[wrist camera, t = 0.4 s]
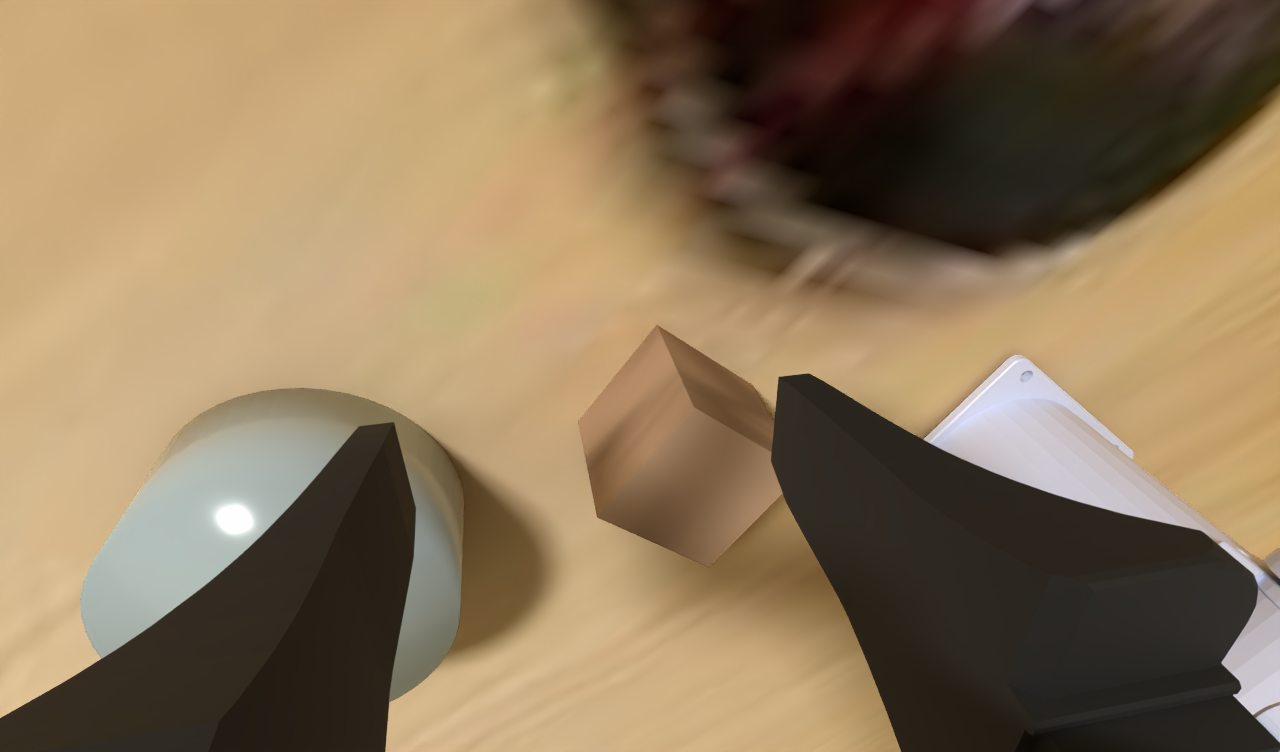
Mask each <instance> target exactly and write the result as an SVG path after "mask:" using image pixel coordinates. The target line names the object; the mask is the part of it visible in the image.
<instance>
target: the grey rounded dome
mask: <svg viewBox="0 0 1280 752" xmlns="http://www.w3.org/2000/svg"><path fill="white" fill-rule="evenodd" d="M390 422H394V424H395V428H396V432H397V436H398V439H399V443H400V447H401V451H402V455H403V459H404V463H405V467H406V471H407V475H408V479H409V483H410V487H411V490H412V494H413V498H414V502H415V506H416V523H415V545H414V559H413V565H412V571H411V576H410V582H409V587H408V593H407V598H406V603H405V609H404V614H403V619H402V625H401V630H400V635H399V640H398V646H397V651H396V656H395V662H394V667H393V674H392V681H391V688H390V696H389V702H391V701H393V700H395V699H397V698H399V697H400V696H402V695H403V694H405V693H407V692H408V691H410V690H412V689H413V688H414V687H416V686H417V685H418V684H420V683H421V682H422V681H423V680H425V679H426V678H427V677H428V676H429V675H430V674H431V673H432V672H433V671H434V670H435V669H436V668H437V667H438V666H439V664H440V663H441V662H442V660H443V659H444V658H445V656H446V655H447V654H448V652H449V650H450V648H451V646H452V644H453V642H454V640H455V636H456V633H457V630H458V627H459V618H460V603H461V577H462V552H463V526H464V496H463V490H462V486H461V482H460V478H459V476H458V474H457V471H456V469H455V467H454V465H453V463H452V461H451V460H450V458H449V457H448V455H447V454H446V452H445V451H444V450H443V449H442V447H441V446H440V445H439V444H438V443H437V442H436V440H435V439H434V438H433V437H431V436H430V435H429V434H428V433H427V432H426V431H425V430H423V429H422V428H421V427H420V426H418V425H417V424H415V423H414V422H413V421H411V420H410V419H408V418H407V417H405V416H403V415H402V414H400V413H398V412H396V411H394V410H392V409H390V408H388V407H386V406H383V405H381V404H378V403H376V402H373V401H371V400H368V399H365V398H361V397H358V396H354V395H350V394H347V393H341V392H335V391H329V390H321V389H307V388H294V389H276V390H269V391H262V392H256V393H252V394H248V395H244V396H240V397H237V398H234V399H231V400H229V401H226V402H224V403H221V404H219V405H216V406H215V407H213V408H211V409H209V410H207V411H205V412H203V413H202V414H200V415H199V416H197V417H196V418H194V419H193V420H192V421H190V422H189V423H188V424H186V425H185V426H184V427H183V428H182V429H181V430H180V431H179V432H178V433H177V434H176V435H175V436H174V437H173V438H172V440H171V441H170V443H169V444H168V446H167V447H166V448H165V450H164V451H163V453H162V454H161V456H160V458H159V459H158V461H157V462H156V464H155V465H154V467H153V469H152V470H151V472H150V473H149V475H148V476H147V478H146V480H145V481H144V483H143V484H142V486H141V487H140V489H139V491H138V492H137V494H136V495H135V497H134V498H133V500H132V502H131V503H130V505H129V506H128V508H127V509H126V511H125V512H124V514H123V516H122V517H121V519H120V520H119V522H118V523H117V525H116V527H115V528H114V530H113V531H112V533H111V534H110V536H109V538H108V539H107V541H106V542H105V544H104V545H103V547H102V549H101V550H100V552H99V553H98V555H97V556H96V558H95V560H94V561H93V563H92V564H91V566H90V568H89V571H88V573H87V575H86V578H85V580H84V582H83V588H82V593H81V599H80V600H81V617H82V621H83V624H84V628H85V632H86V634H87V636H88V638H89V640H90V642H91V644H92V646H93V648H94V649H95V650H96V652H97V653H98V655H99V656H100V657H101V659H102V658H104V657H105V656H107V655H108V654H110V653H112V652H113V651H115V650H116V649H118V648H119V647H121V646H122V645H124V644H125V643H127V642H128V641H130V640H131V639H133V638H134V637H136V636H137V635H139V634H140V633H142V632H143V631H144V630H146V629H147V628H149V627H150V626H152V625H153V624H154V623H156V622H157V621H158V620H160V619H161V618H162V617H164V616H165V615H166V614H168V613H169V612H170V611H172V610H173V609H174V608H176V607H177V606H178V605H180V604H181V603H182V602H184V601H185V600H186V599H188V598H189V597H190V596H192V595H193V594H194V593H196V592H197V591H198V590H200V589H201V588H202V587H203V586H205V585H206V584H207V583H208V582H210V581H211V580H212V579H213V578H214V577H216V576H217V575H218V574H219V573H220V572H221V571H223V570H224V569H225V568H226V567H227V566H228V565H230V564H231V563H232V562H233V561H234V560H235V559H237V558H238V557H239V556H240V555H241V554H242V553H243V552H244V551H245V550H247V549H248V548H249V547H250V546H251V545H252V544H253V543H254V542H255V541H256V540H257V539H258V538H259V537H260V536H261V535H262V534H263V533H264V532H265V531H266V530H267V529H268V528H269V527H270V526H271V525H272V524H273V523H274V522H275V521H276V520H277V519H278V518H279V517H280V516H281V515H282V514H283V513H284V512H285V511H286V510H287V509H288V508H289V507H290V506H291V504H292V503H293V502H294V501H295V500H296V499H297V498H298V497H299V496H300V494H301V493H302V492H303V491H304V490H305V489H306V488H307V487H308V485H309V484H310V483H311V482H312V481H313V480H314V479H315V477H316V476H317V475H318V474H319V473H320V472H321V470H322V469H323V468H324V467H325V466H326V464H327V463H328V462H329V461H330V460H331V458H332V457H333V456H334V455H335V454H336V452H337V451H338V450H339V449H340V448H341V446H342V445H343V444H344V443H345V442H346V440H347V439H348V438H349V437H350V436H351V435H352V434H353V432H354V431H355V430H356V429H357V428H358V427H359V426H365V425H373V424H382V423H390Z"/></svg>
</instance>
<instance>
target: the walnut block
mask: <svg viewBox="0 0 1280 752" xmlns="http://www.w3.org/2000/svg"><path fill="white" fill-rule="evenodd" d="M579 426H580V432H581V437H582V442H583V447H584V452H585V457H586V463H587V468H588V473H589V478H590V483H591V488H592V493H593V499H594V504H595V509H596V514H597V517H598V518H600V519H602V520H604V521H607V522H609V523H611V524H613V525H616V526H618V527H620V528H622V529H624V530H627V531H629V532H631V533H633V534H636V535H638V536H640V537H642V538H645V539H647V540H649V541H651V542H654V543H656V544H658V545H660V546H663V547H665V548H667V549H669V550H672V551H674V552H676V553H678V554H681V555H683V556H685V557H687V558H689V559H692V560H694V561H696V562H698V563H701V564H703V565H705V566H707V567H710V566H711V565H712V564H713V563H714V562H715V561H716V560H717V559H718V558H719V557H720V556H721V555H722V554H723V553H724V552H725V551H726V550H727V549H728V548H729V547H730V546H731V545H732V544H733V543H734V542H735V541H736V540H737V539H738V538H739V537H740V536H741V535H742V534H743V533H744V532H745V531H746V530H747V529H748V528H749V527H750V526H751V525H752V524H753V523H754V522H755V521H756V520H757V519H758V518H759V517H760V516H761V515H762V514H763V513H764V511H765V510H766V509H767V508H768V507H769V506H770V505H771V504H772V503H773V502H774V501H775V500H776V499H777V498H778V497H779V496H780V495H781V494H782V493H783V492H782V490H781V487H780V485H779V482H778V479H777V477H776V474H775V471H774V468H773V466H772V463H771V453H772V442H773V432H774V420H773V419H772V417H771V415H770V414H769V412H768V410H767V409H766V407H765V405H764V404H763V402H762V401H761V399H760V397H759V396H758V394H757V392H756V391H755V389H754V387H753V386H752V385H751V384H750V383H748V382H747V381H745V380H743V379H742V378H740V377H739V376H737V375H736V374H734V373H732V372H731V371H729V370H728V369H726V368H724V367H723V366H721V365H720V364H718V363H716V362H715V361H713V360H712V359H710V358H709V357H707V356H705V355H704V354H702V353H701V352H699V351H697V350H696V349H694V348H693V347H691V346H690V345H688V344H686V343H685V342H683V341H682V340H680V339H678V338H677V337H675V336H674V335H672V334H671V333H669V332H667V331H666V330H664V329H663V328H661V327H659V326H658V325H656V327H655V328H654V329H653V330H652V332H651V333H650V334H649V335H648V336H647V338H646V339H645V340H644V341H643V343H642V344H641V345H640V346H639V347H638V349H637V350H636V351H635V352H634V354H633V355H632V356H631V357H630V358H629V360H628V361H627V362H626V363H625V365H624V366H623V367H622V368H621V370H620V371H619V372H618V373H617V374H616V376H615V377H614V378H613V379H612V381H611V382H610V383H609V384H608V385H607V387H606V388H605V389H604V390H603V392H602V393H601V394H600V395H599V396H598V398H597V399H596V400H595V401H594V403H593V404H592V405H591V406H590V408H589V409H588V410H587V411H586V412H585V414H584V415H583V416H582V417H581V419H580V420H579Z"/></svg>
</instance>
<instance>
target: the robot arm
mask: <svg viewBox="0 0 1280 752" xmlns="http://www.w3.org/2000/svg"><path fill="white" fill-rule="evenodd" d="M1024 372H1025V373H1024ZM1023 373H1024V374H1023ZM1022 374H1023V375H1022ZM1021 375H1022V376H1021ZM1133 455H1134V453H1133V451H1132V450H1131V449H1130V448H1129V447H1128V446H1126V445H1125V444H1124V443H1123V442H1122V441H1121V440H1120V439H1119V438H1117V437H1116V436H1115V435H1114V434H1113V433H1112V432H1111V431H1109V430H1108V429H1107V428H1106V427H1105V426H1104V425H1103V424H1101V423H1100V422H1099V421H1098V420H1097V419H1096V418H1095V417H1093V416H1092V415H1091V414H1090V413H1089V412H1088V411H1087V410H1085V409H1084V408H1083V407H1082V406H1081V405H1080V404H1079V403H1077V402H1076V401H1075V400H1074V399H1073V398H1072V397H1071V396H1069V395H1068V394H1067V393H1066V392H1065V391H1064V390H1063V389H1061V388H1060V387H1059V386H1058V385H1057V384H1056V383H1055V382H1053V381H1052V380H1051V379H1050V378H1049V377H1048V376H1047V375H1045V374H1044V373H1043V372H1042V371H1041V370H1040V369H1039V368H1037V367H1036V366H1035V365H1034V364H1033V363H1032V362H1031V361H1029V360H1028V359H1027V358H1026V357H1024V356H1022V355H1014V356H1012V357H1010V358H1009V359H1007V360H1006V361H1005V362H1004V363H1003V364H1002V365H1001V366H1000V367H999V368H998V369H997V370H995V371H994V372H993V373H992V374H991V375H990V376H989V377H988V378H987V379H986V380H985V381H984V382H983V383H982V384H981V385H980V386H979V387H978V388H977V389H976V390H974V391H973V392H972V393H971V394H970V395H969V396H968V397H967V398H966V399H965V400H964V401H963V402H962V403H961V404H960V405H959V406H958V407H957V408H956V409H955V410H953V411H952V412H951V413H950V414H949V415H948V416H947V417H946V418H945V419H944V420H943V421H942V422H941V423H940V424H939V425H938V426H937V427H936V428H935V429H934V430H932V431H931V432H930V433H929V434H928V435H927V436H926V437H925V438H924V439H921V438H919V437H917V436H915V435H913V434H911V433H910V432H908V431H906V430H904V429H902V428H901V427H899V426H897V425H895V424H894V423H892V422H890V421H888V420H887V419H885V418H883V417H882V416H880V415H878V414H876V413H875V412H873V411H871V410H870V409H868V408H867V407H865V406H863V405H862V404H860V403H858V402H857V401H855V400H853V399H852V398H850V397H849V396H847V395H845V394H844V393H842V392H840V391H839V390H837V389H835V388H834V387H832V386H830V385H829V384H827V383H825V382H824V381H822V380H820V379H818V378H817V377H815V376H813V375H811V374H800V375H792V376H783V377H779V380H778V391H777V401H776V411H775V422H774V432H773V442H772V453H771V463H772V466H773V468H774V471H775V474H776V477H777V479H778V482H779V485H780V487H781V490H782V492H783V495H784V497H785V500H786V503H787V505H788V507H789V508H790V510H791V512H792V514H793V516H794V518H795V520H796V522H797V523H798V525H799V527H800V529H801V531H802V532H803V534H804V536H805V538H806V540H807V542H808V543H809V545H810V547H811V549H812V550H813V552H814V554H815V556H816V558H817V559H818V561H819V563H820V565H821V567H822V568H823V570H824V572H825V574H826V576H827V577H828V579H829V581H830V583H831V585H832V586H833V588H834V590H835V592H836V594H837V595H838V597H839V599H840V601H841V603H842V605H843V607H844V609H845V611H846V613H847V615H848V618H849V620H850V622H851V625H852V627H853V629H854V632H855V634H856V636H857V639H858V641H859V644H860V646H861V648H862V651H863V653H864V655H865V658H866V660H867V663H868V665H869V668H870V670H871V673H872V675H873V678H874V680H875V683H876V685H877V688H878V691H879V693H880V696H881V698H882V701H883V703H884V706H885V708H886V711H887V714H888V716H889V719H890V722H891V725H892V727H893V730H894V733H895V736H896V738H897V741H898V744H899V747H900V749H901V752H1280V548H1279V549H1276V550H1275V551H1273V552H1272V553H1271V554H1270V555H1269V556H1267V557H1266V558H1265V559H1264V560H1262V559H1260V558H1258V557H1256V556H1254V555H1252V554H1250V553H1249V552H1248V551H1247V550H1245V549H1244V548H1243V547H1242V546H1240V545H1239V544H1238V543H1237V542H1235V541H1234V540H1233V539H1231V538H1230V537H1229V536H1228V535H1226V534H1225V533H1224V532H1223V531H1221V530H1220V529H1219V528H1218V527H1216V526H1215V525H1214V524H1213V523H1211V522H1210V521H1209V520H1208V519H1206V518H1205V517H1204V516H1203V515H1201V514H1200V513H1199V512H1198V511H1196V510H1195V509H1194V508H1193V507H1191V506H1190V505H1189V504H1188V503H1186V502H1185V501H1184V500H1183V499H1181V498H1180V497H1179V496H1177V495H1176V494H1175V493H1174V492H1172V491H1171V490H1170V489H1169V488H1167V487H1166V486H1165V485H1164V484H1162V483H1161V482H1160V481H1159V480H1157V479H1156V478H1155V477H1154V476H1152V475H1151V474H1150V473H1149V472H1147V471H1146V470H1145V469H1144V468H1142V467H1141V466H1140V465H1139V464H1137V463H1136V462H1135V461H1134V460H1132V458H1133ZM415 523H416V506H415V502H414V498H413V494H412V490H411V487H410V483H409V479H408V475H407V471H406V467H405V463H404V459H403V455H402V451H401V447H400V443H399V439H398V436H397V432H396V428H395V424H394V422H390V423H382V424H373V425H365V426H359V427H358V428H357V429H356V430H355V431H354V432H353V434H352V435H351V436H350V437H349V438H348V439H347V440H346V442H345V443H344V444H343V445H342V446H341V448H340V449H339V450H338V451H337V452H336V454H335V455H334V456H333V457H332V458H331V460H330V461H329V462H328V463H327V464H326V466H325V467H324V468H323V469H322V470H321V472H320V473H319V474H318V475H317V476H316V477H315V479H314V480H313V481H312V482H311V483H310V484H309V485H308V487H307V488H306V489H305V490H304V491H303V492H302V493H301V494H300V496H299V497H298V498H297V499H296V500H295V501H294V502H293V503H292V504H291V506H290V507H289V508H288V509H287V510H286V511H285V512H284V513H283V514H282V515H281V516H280V517H279V518H278V519H277V520H276V521H275V522H274V523H273V524H272V525H271V526H270V527H269V528H268V529H267V530H266V531H265V532H264V533H263V534H262V535H261V536H260V537H259V538H258V539H257V540H256V541H255V542H254V543H253V544H252V545H251V546H250V547H249V548H248V549H247V550H245V551H244V552H243V553H242V554H241V555H240V556H239V557H238V558H237V559H235V560H234V561H233V562H232V563H231V564H230V565H228V566H227V567H226V568H225V569H224V570H223V571H221V572H220V573H219V574H218V575H217V576H216V577H214V578H213V579H212V580H211V581H210V582H208V583H207V584H206V585H205V586H203V587H202V588H201V589H200V590H198V591H197V592H196V593H194V594H193V595H192V596H190V597H189V598H188V599H186V600H185V601H184V602H182V603H181V604H180V605H178V606H177V607H176V608H174V609H173V610H172V611H170V612H169V613H168V614H166V615H165V616H164V617H162V618H161V619H160V620H158V621H157V622H156V623H154V624H153V625H152V626H150V627H149V628H147V629H146V630H144V631H143V632H142V633H140V634H139V635H137V636H136V637H134V638H133V639H131V640H130V641H128V642H127V643H125V644H124V645H122V646H121V647H119V648H118V649H116V650H115V651H113V652H112V653H110V654H108V655H107V656H105V657H104V658H102V659H101V660H99V661H97V662H96V663H94V664H93V665H91V666H90V667H88V668H86V669H85V670H83V671H82V672H80V673H78V674H77V675H75V676H73V677H72V678H70V679H68V680H67V681H65V682H63V683H62V684H60V685H58V686H56V687H55V688H53V689H51V690H49V691H48V692H46V693H44V694H42V695H41V696H39V697H37V698H35V699H33V700H32V701H30V702H28V703H26V704H25V705H23V706H21V707H19V708H18V709H16V710H14V711H12V712H11V713H9V714H7V715H5V716H3V717H2V718H0V752H385V747H386V734H387V722H388V709H389V696H390V688H391V681H392V674H393V667H394V662H395V656H396V651H397V646H398V640H399V635H400V630H401V625H402V619H403V614H404V609H405V603H406V598H407V593H408V587H409V582H410V576H411V571H412V565H413V559H414V545H415Z"/></svg>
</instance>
